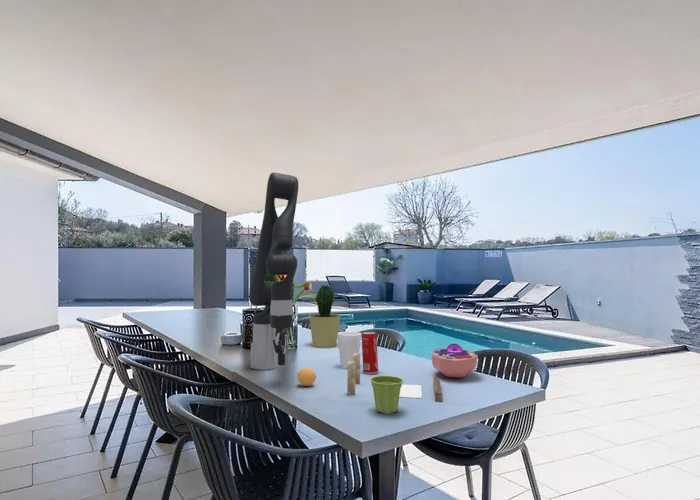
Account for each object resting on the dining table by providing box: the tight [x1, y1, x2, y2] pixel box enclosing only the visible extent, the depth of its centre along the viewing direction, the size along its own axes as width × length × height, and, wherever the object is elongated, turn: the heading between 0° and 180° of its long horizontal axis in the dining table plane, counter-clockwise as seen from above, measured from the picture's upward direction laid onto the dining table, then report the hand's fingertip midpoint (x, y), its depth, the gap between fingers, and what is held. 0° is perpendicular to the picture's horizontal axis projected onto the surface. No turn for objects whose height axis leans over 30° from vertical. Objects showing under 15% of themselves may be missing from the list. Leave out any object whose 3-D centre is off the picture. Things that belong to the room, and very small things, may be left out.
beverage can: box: [361, 331, 379, 375], centre depth 173 cm, size 6×6×15 cm
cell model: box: [430, 343, 479, 379], centre depth 169 cm, size 17×20×11 cm
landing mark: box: [399, 383, 423, 399], centre depth 149 cm, size 14×14×1 cm
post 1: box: [346, 361, 356, 396], centre depth 145 cm, size 2×2×10 cm
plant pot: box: [369, 375, 405, 414], centre depth 130 cm, size 9×9×9 cm
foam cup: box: [337, 331, 362, 369], centre depth 182 cm, size 10×9×13 cm
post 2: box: [353, 352, 361, 385], centre depth 158 cm, size 2×2×10 cm
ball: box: [297, 367, 317, 387], centre depth 154 cm, size 6×6×6 cm
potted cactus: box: [308, 284, 341, 349], centre depth 224 cm, size 15×15×30 cm
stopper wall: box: [432, 377, 443, 402], centre depth 147 cm, size 2×18×2 cm, turn 172°
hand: (281, 364), depth 155 cm, fingers closed
